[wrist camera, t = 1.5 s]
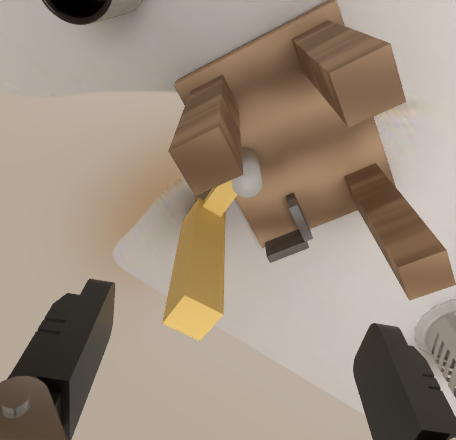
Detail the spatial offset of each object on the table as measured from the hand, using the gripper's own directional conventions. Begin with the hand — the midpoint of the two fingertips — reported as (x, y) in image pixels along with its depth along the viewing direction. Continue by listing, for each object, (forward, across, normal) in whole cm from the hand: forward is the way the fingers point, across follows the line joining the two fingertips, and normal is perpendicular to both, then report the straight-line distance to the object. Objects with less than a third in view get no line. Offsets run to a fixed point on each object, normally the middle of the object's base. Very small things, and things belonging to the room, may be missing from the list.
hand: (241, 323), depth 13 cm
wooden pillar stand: (+28, +5, -2) cm, 28 cm away
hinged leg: (+25, 0, -7) cm, 26 cm away
